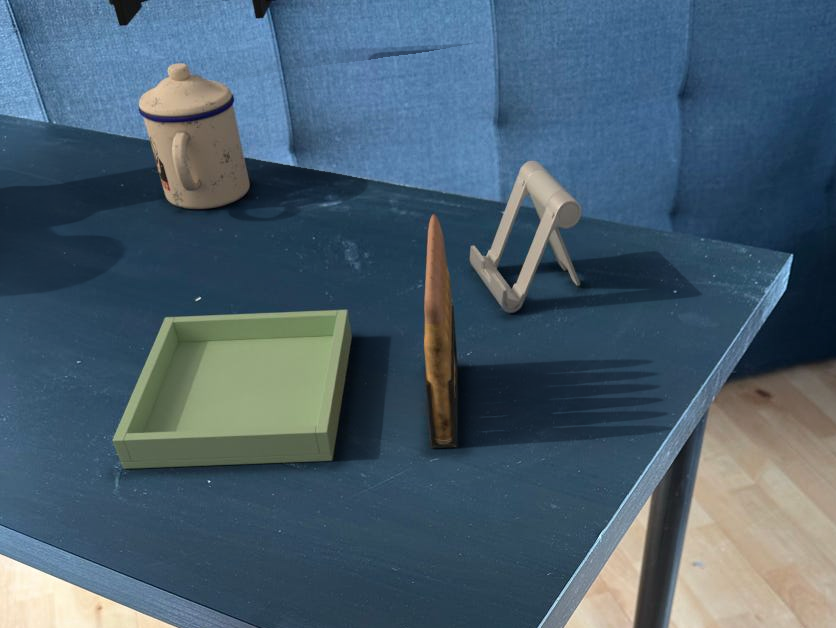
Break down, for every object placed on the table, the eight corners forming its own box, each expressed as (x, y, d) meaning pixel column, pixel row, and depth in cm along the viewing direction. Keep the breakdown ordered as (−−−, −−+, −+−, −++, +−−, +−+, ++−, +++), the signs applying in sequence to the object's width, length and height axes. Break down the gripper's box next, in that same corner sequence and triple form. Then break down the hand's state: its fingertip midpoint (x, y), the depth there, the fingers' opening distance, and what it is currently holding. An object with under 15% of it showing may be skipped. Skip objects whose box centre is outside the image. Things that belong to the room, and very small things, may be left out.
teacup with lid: (173, 177, 100) (140, 53, 91) (258, 173, 99) (233, 48, 91) (149, 226, 91) (109, 95, 83) (241, 222, 91) (211, 90, 83)
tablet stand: (470, 270, 83) (465, 171, 77) (553, 254, 84) (555, 156, 78) (501, 315, 77) (499, 213, 71) (590, 297, 79) (595, 196, 72)
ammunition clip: (433, 366, 72) (420, 209, 63) (457, 365, 72) (447, 207, 63) (430, 449, 65) (415, 284, 56) (457, 448, 65) (446, 283, 56)
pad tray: (123, 469, 65) (111, 440, 63) (173, 344, 76) (165, 316, 74) (332, 461, 64) (327, 431, 63) (352, 337, 76) (347, 309, 74)
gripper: (339, -14, 108) (320, 43, 94) (126, -2, 109) (75, 56, 94) (328, -95, 103) (307, -48, 88) (104, -82, 103) (46, -34, 89)
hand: (187, 6), depth 91 cm, fingers open, 13 cm apart
